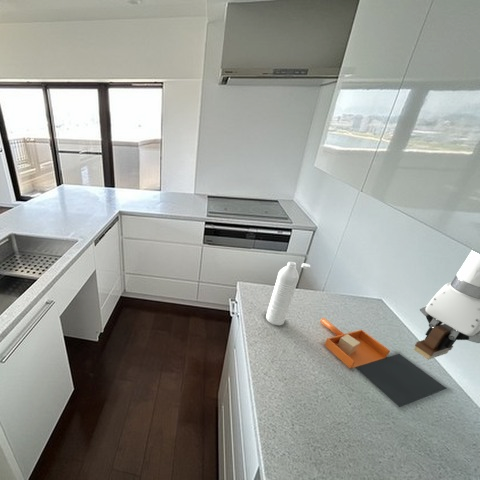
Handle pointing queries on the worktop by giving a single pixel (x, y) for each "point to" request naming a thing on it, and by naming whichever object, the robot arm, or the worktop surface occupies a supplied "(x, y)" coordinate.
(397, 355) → the mat
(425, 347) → the brush
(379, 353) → the dustpan
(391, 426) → the worktop surface
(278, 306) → the water bottle
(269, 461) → the worktop surface
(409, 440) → the worktop surface
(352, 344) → the clay clod
